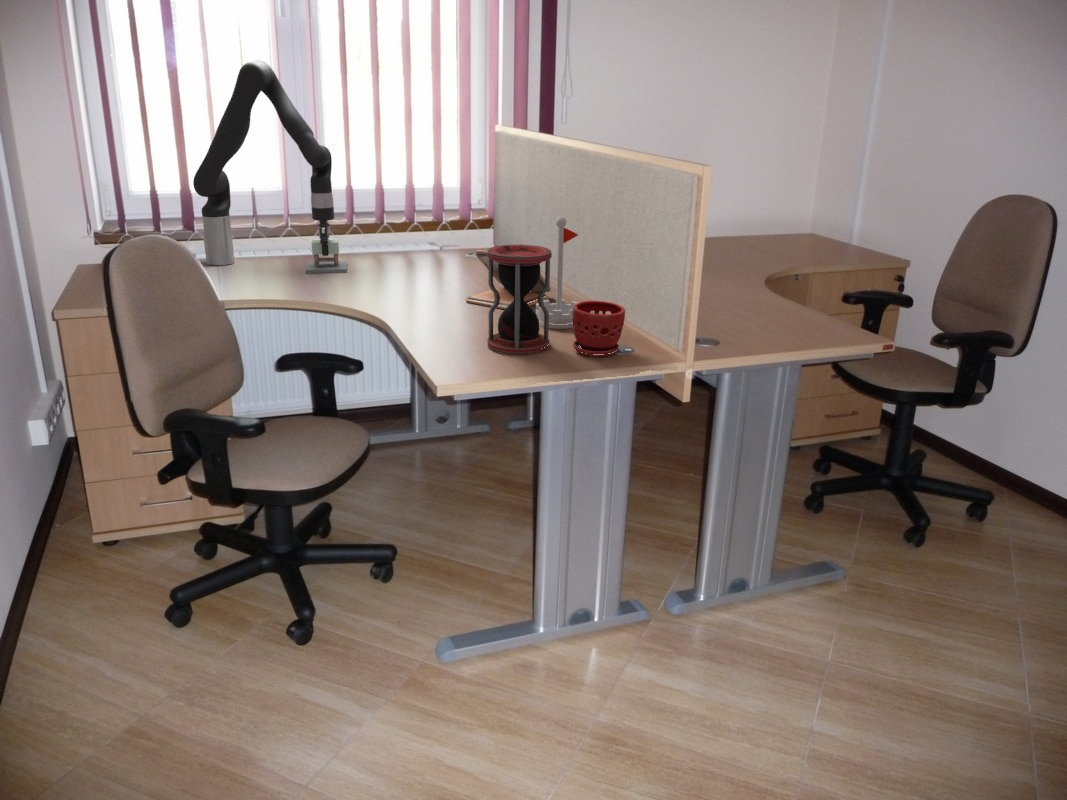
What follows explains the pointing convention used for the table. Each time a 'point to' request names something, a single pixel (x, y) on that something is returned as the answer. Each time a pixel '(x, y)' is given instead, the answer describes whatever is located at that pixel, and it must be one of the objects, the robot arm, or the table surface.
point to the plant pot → (597, 327)
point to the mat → (326, 267)
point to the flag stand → (559, 286)
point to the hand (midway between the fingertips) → (325, 253)
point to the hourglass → (519, 299)
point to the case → (505, 296)
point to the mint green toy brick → (332, 248)
